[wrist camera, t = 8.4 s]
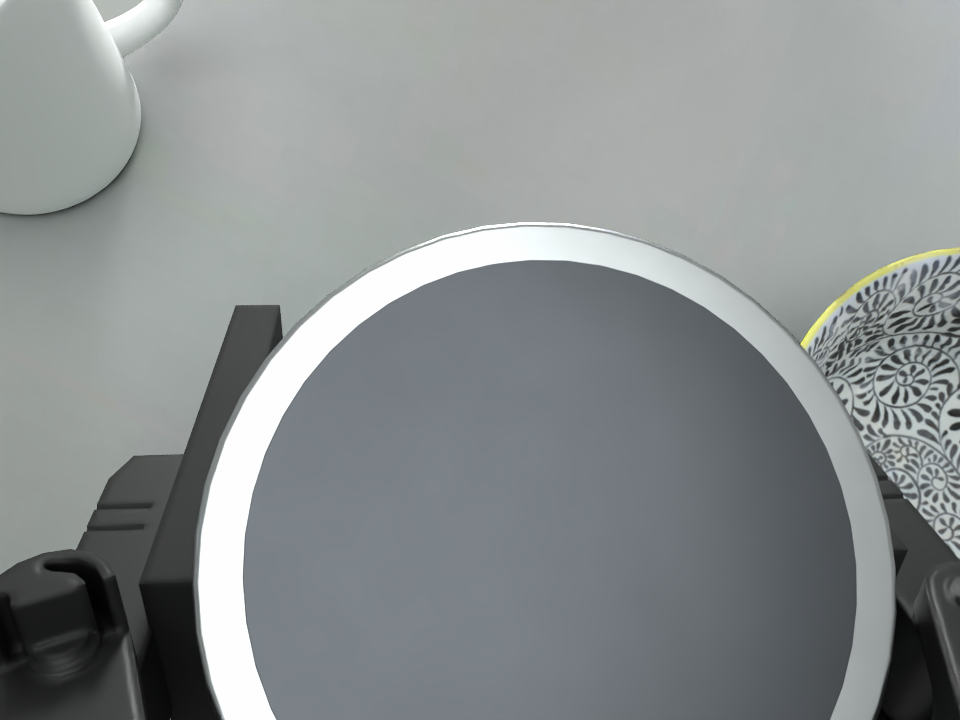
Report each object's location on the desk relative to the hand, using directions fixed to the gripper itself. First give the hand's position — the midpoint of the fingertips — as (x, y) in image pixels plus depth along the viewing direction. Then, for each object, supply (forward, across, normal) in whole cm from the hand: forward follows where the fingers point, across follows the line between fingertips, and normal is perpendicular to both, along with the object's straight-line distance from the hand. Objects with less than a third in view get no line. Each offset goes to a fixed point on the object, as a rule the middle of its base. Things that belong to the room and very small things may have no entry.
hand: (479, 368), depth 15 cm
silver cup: (-1, 0, -4) cm, 4 cm away
